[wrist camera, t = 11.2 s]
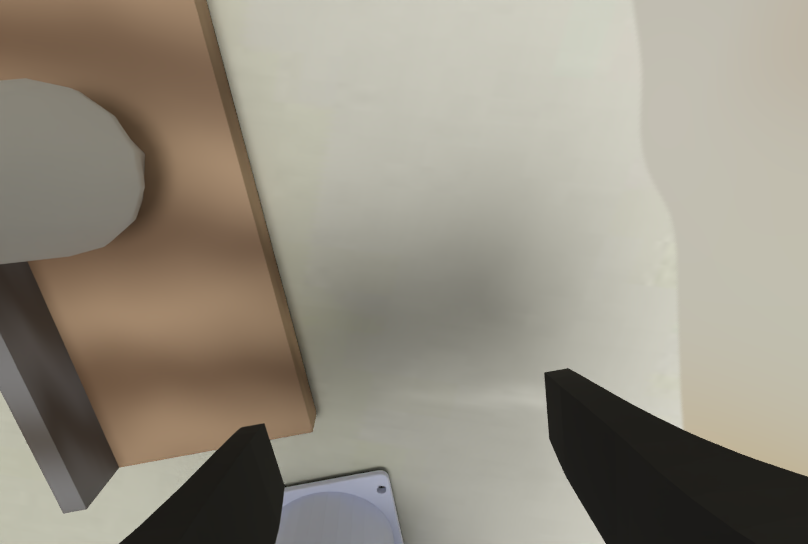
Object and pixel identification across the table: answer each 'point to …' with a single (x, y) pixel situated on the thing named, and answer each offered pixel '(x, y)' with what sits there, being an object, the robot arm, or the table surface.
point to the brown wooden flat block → (147, 261)
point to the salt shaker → (62, 173)
